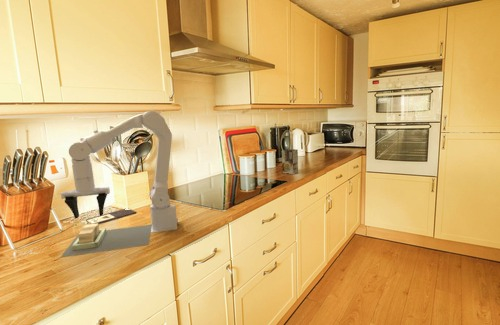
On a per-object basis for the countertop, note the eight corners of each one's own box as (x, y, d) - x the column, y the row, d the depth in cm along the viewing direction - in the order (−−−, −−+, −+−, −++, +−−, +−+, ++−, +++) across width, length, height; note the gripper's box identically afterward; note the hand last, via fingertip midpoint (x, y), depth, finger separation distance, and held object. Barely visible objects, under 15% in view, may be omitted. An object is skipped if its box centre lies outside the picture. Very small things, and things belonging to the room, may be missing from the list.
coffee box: (298, 172, 201) (298, 149, 198) (293, 174, 196) (292, 150, 194) (287, 171, 207) (286, 148, 204) (282, 173, 202) (281, 149, 200)
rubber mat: (152, 225, 116) (152, 224, 115) (148, 246, 97) (148, 244, 97) (79, 235, 109) (78, 233, 109) (60, 258, 91) (60, 257, 91)
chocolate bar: (136, 211, 131) (93, 224, 118) (136, 214, 132) (94, 226, 119) (127, 208, 137) (85, 219, 124) (127, 210, 138) (86, 221, 125)
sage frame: (106, 232, 109) (105, 228, 109) (97, 246, 97) (97, 242, 97) (83, 235, 108) (83, 231, 107) (72, 250, 96) (71, 246, 95)
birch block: (93, 245, 99) (91, 232, 98) (80, 247, 98) (78, 234, 97) (99, 234, 107) (98, 223, 106) (87, 236, 106) (86, 224, 106)
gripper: (109, 173, 105) (114, 209, 107) (63, 177, 101) (69, 214, 104) (105, 177, 98) (110, 216, 100) (56, 181, 94) (62, 221, 97)
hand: (89, 216), depth 101 cm, fingers open, 7 cm apart
